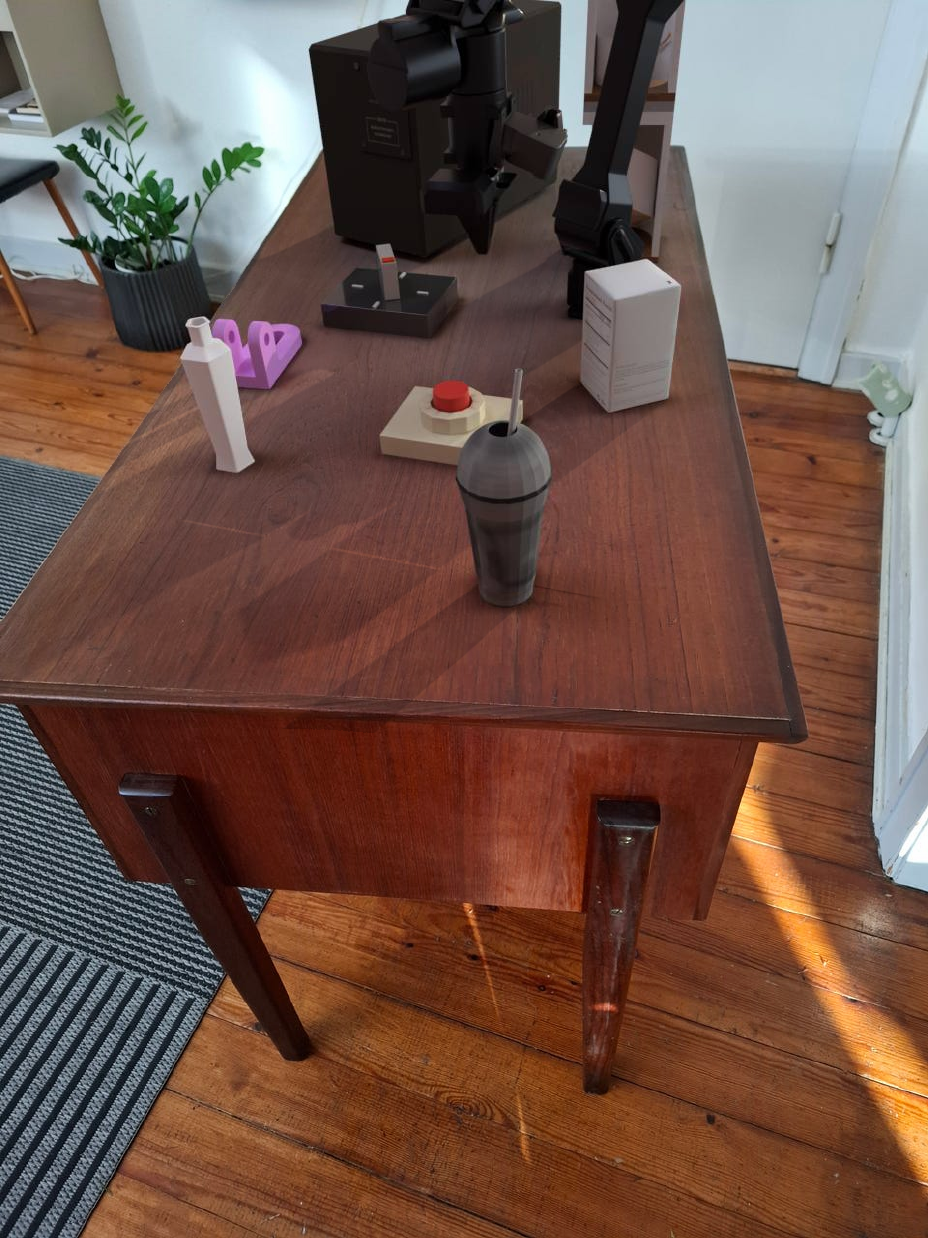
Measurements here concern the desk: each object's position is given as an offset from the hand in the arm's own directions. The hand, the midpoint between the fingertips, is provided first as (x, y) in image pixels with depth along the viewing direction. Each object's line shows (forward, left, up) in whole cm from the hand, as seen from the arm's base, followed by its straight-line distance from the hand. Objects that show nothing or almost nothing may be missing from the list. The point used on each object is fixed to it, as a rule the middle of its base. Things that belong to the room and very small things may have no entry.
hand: (483, 253), depth 94 cm
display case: (-8, -33, -13) cm, 37 cm away
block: (-1, +16, -13) cm, 20 cm away
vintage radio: (+20, -44, -13) cm, 50 cm away
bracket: (+26, +6, -13) cm, 29 cm away
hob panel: (+16, -9, -13) cm, 22 cm away
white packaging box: (-16, +3, -13) cm, 21 cm away
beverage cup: (-13, +37, -13) cm, 41 cm away
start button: (-1, +16, -9) cm, 18 cm away
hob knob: (+16, -9, -9) cm, 20 cm away
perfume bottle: (+19, +26, -13) cm, 34 cm away
